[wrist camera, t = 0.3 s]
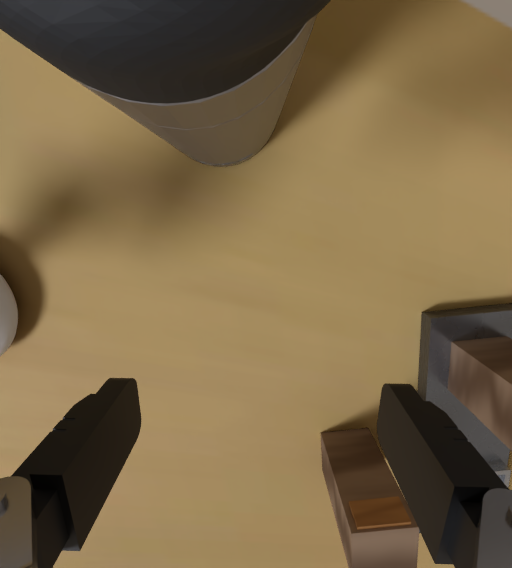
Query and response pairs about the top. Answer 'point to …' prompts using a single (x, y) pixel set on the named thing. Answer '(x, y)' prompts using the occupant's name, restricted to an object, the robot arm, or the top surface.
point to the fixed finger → (484, 382)
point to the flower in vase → (7, 316)
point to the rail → (435, 371)
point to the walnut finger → (367, 502)
